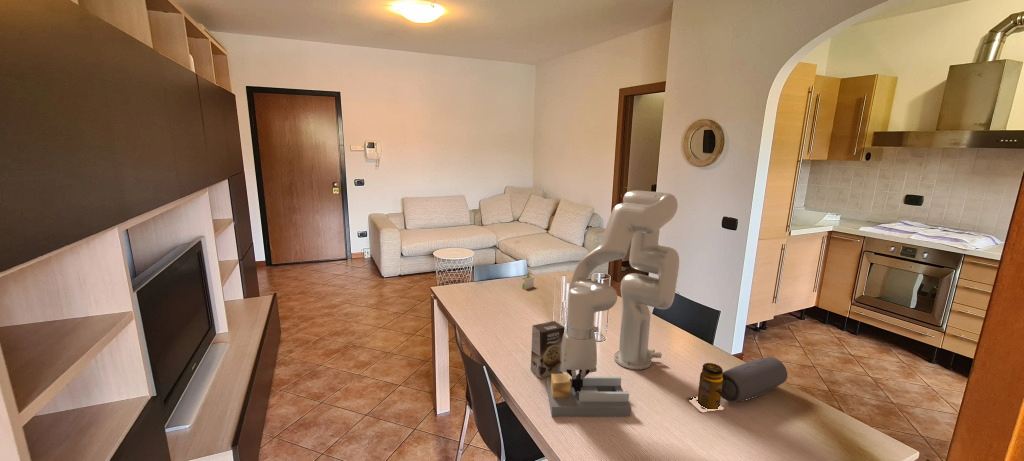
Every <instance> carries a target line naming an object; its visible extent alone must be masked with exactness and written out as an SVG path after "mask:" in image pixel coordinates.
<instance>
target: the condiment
mask: <svg viewBox="0 0 1024 461" xmlns="http://www.w3.org/2000/svg"><path fill="white" fill-rule="evenodd" d="M722 372H724V370H723V367H721V366H720V365H718V364H716V363H712V362H705V363H703V365H702V369H701V372H700V374H699V382H698V389H697V390H698V391H697V396H698V400H697V401H698V403H699V404H700V405H701V406H703V407H705V408H707V409H718V407H719V406H720V404H721V400H722V397H721V392H722V384H723V377H722ZM691 397H692V398H691ZM693 397H694V398H696V397H695V396H690V397H689V396H687V397H685V399H686V400H687V402H689V400H692V399H693Z"/></svg>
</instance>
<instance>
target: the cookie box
mask: <svg viewBox="0 0 1024 461" xmlns="http://www.w3.org/2000/svg"><path fill="white" fill-rule="evenodd" d="M565 328H566V327H565V326H563V325H562V324H561V323H558V322H557V321H555V320H553V321H549V322H542V323H538V324H533V325H532V328H531V329H532V330H531V331H532V332H531V349H530V350H531V354H530V358H531V359H530V371H531V372H532V373H533V374H535V376H537V377H538V378H539V379H542V378H545V377H551V374H562V372H561V371H560V369H559V367H560V364H561V362H560V351H561V343H562V338H563V334H564V332H566V331H565V330H566V329H565Z"/></svg>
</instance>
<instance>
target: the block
mask: <svg viewBox="0 0 1024 461" xmlns="http://www.w3.org/2000/svg"><path fill="white" fill-rule="evenodd" d="M550 379H551V391H552V396H553V397H570V388H571V382H570V375H569V374H568V373H557V374H551V375H550Z"/></svg>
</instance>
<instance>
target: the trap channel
mask: <svg viewBox="0 0 1024 461" xmlns="http://www.w3.org/2000/svg"><path fill="white" fill-rule="evenodd" d="M569 379H570V378H569ZM570 382H571V388H570V397H553V396H552V391H551V378H548V379H547V378H546V390H547V391H546V392H547V397H548V398H547V399H548V403H549V408H550V415H551V417H553V418H554V417H557V418H558V417H559V418H562V417H565V418H566V417H567V418H568V417H569V418H574V417H576V418H577V417H578V418H579V417H580V418H581V417H582V418H583V417H586V418H587V417H588V418H589V417H590V418H593V417H595V418H596V417H597V418H598V417H602V418H603V417H606V418H607V417H608V418H611V417H612V418H614V417H615V418H621V417H622V418H630V417H631V415H632V414H631V412H632V406H631V404H630V402H629V399H630V398H629V397H630V392H629V391H624V389H623V388H622V376H616V375H615V376H609V375H608V376H606V375H605V376H602V375H601V376H599V375H598V376H595V375H591V376H589V375H586V376H585V378H584V379H583V387H582V388H581V392H578V391H577V392H575V390H574V388H572V378H571V379H570Z"/></svg>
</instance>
